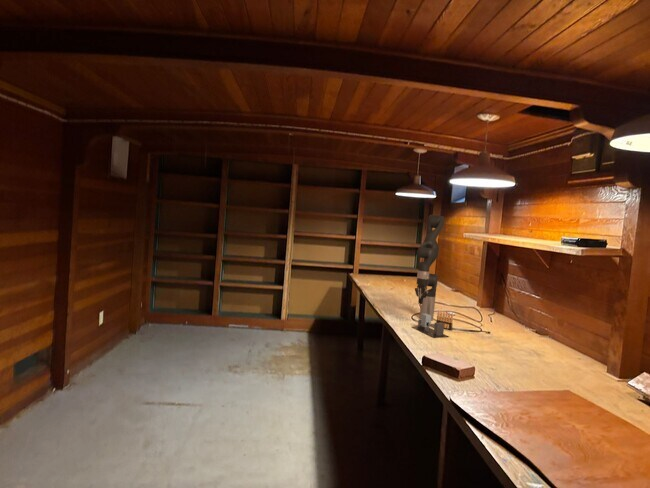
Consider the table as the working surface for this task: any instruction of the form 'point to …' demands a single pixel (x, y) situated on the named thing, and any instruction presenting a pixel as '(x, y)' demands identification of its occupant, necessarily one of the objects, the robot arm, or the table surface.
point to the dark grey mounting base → (430, 332)
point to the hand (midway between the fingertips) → (420, 303)
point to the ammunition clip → (445, 320)
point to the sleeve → (425, 320)
